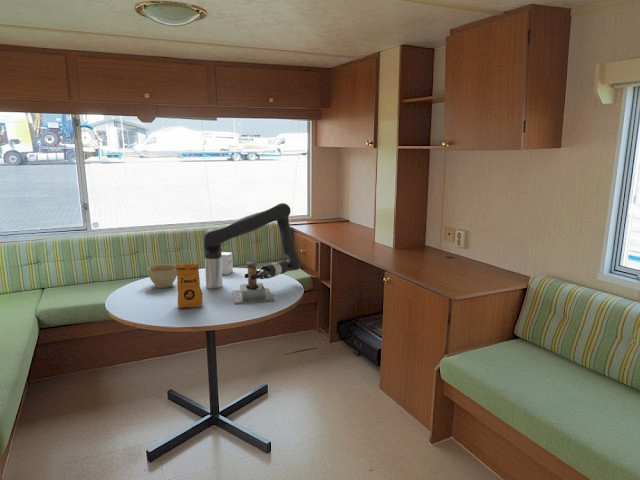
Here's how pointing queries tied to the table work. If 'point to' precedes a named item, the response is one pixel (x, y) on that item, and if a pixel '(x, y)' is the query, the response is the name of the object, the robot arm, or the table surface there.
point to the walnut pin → (251, 271)
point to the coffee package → (188, 286)
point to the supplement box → (227, 262)
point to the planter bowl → (163, 275)
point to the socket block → (252, 294)
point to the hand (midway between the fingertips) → (248, 277)
